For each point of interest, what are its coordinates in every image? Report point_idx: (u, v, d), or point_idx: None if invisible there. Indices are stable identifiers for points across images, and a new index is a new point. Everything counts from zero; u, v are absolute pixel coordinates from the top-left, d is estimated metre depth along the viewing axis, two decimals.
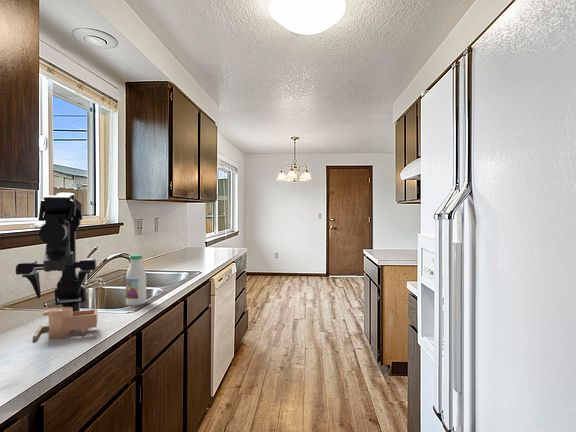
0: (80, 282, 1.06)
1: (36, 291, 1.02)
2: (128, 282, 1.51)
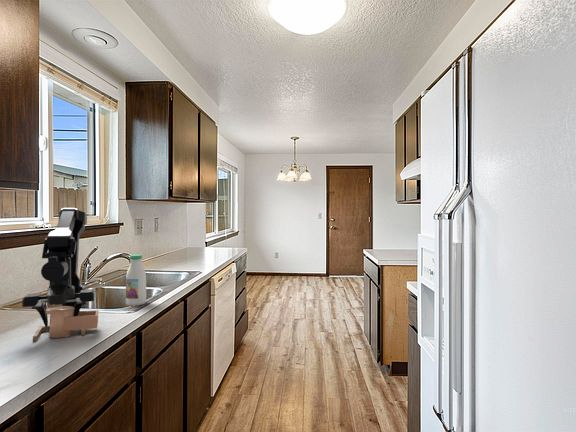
0: (77, 312, 1.17)
1: (44, 321, 1.14)
2: (128, 282, 1.51)
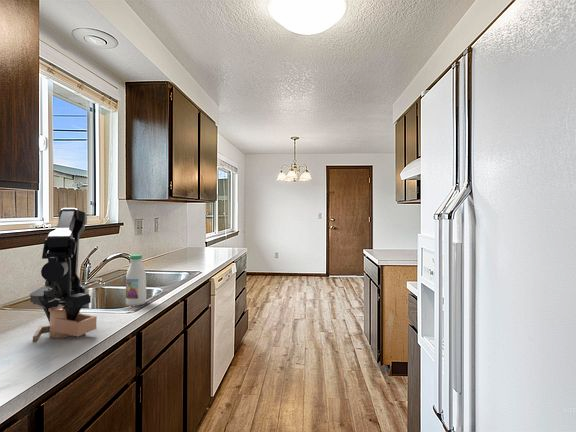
0: (68, 316, 1.14)
1: (48, 318, 1.17)
2: (128, 282, 1.51)
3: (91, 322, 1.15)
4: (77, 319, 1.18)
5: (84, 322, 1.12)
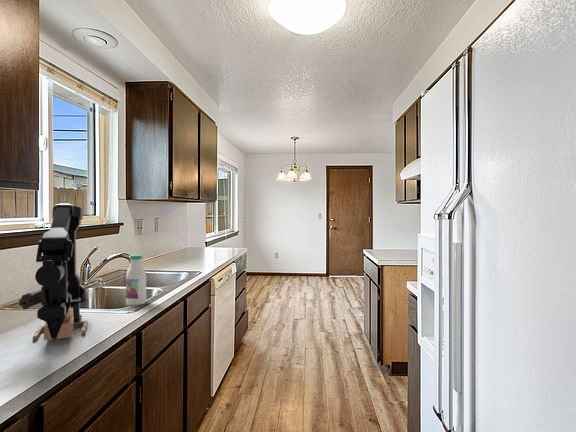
0: None
1: None
2: (128, 282, 1.51)
3: (63, 328, 1.08)
4: None
5: None
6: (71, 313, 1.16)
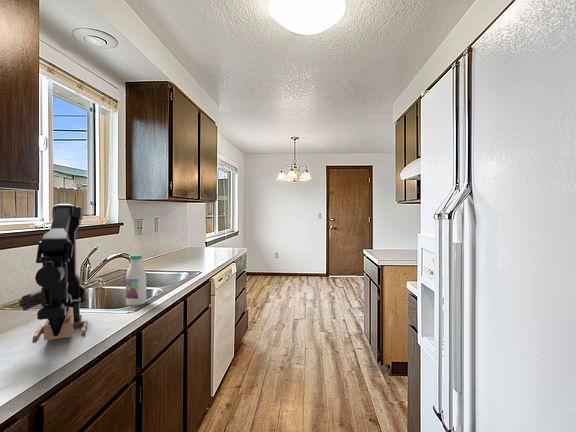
0: None
1: None
2: (128, 282, 1.51)
3: (63, 328, 1.08)
4: None
5: None
6: (71, 313, 1.16)
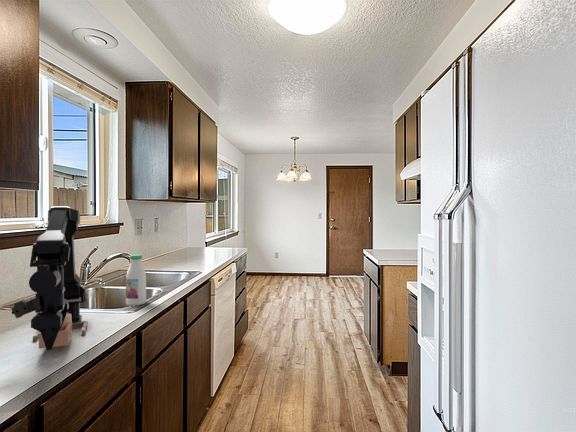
0: None
1: None
2: (128, 282, 1.51)
3: (60, 336, 1.01)
4: None
5: None
6: (69, 320, 1.09)
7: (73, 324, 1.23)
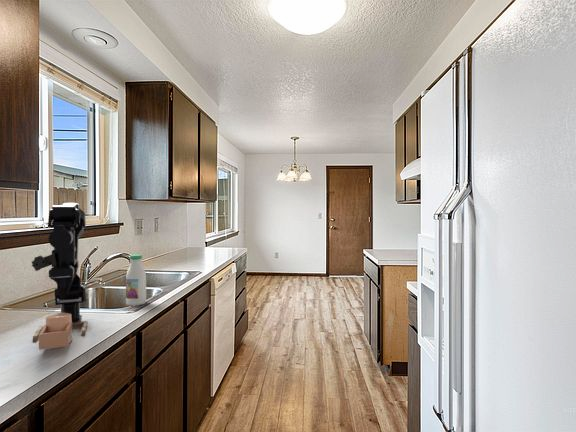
0: None
1: None
2: (128, 282, 1.51)
3: (60, 337, 1.01)
4: None
5: (48, 335, 1.00)
6: (69, 320, 1.09)
7: (73, 324, 1.23)
